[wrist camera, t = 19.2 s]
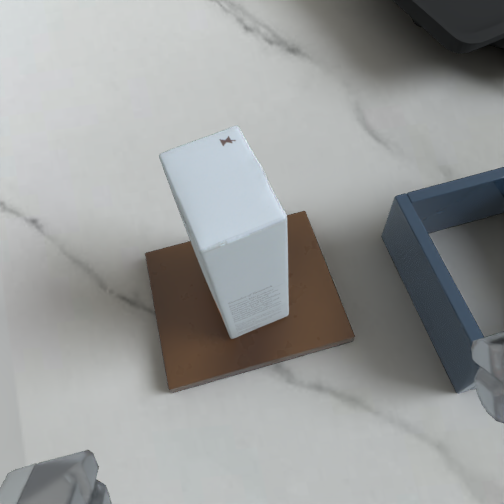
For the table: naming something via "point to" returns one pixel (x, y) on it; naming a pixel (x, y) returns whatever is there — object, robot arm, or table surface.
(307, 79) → the table surface
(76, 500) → the robot arm
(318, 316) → the coaster
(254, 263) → the cosmetic box
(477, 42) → the tray
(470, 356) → the holder
